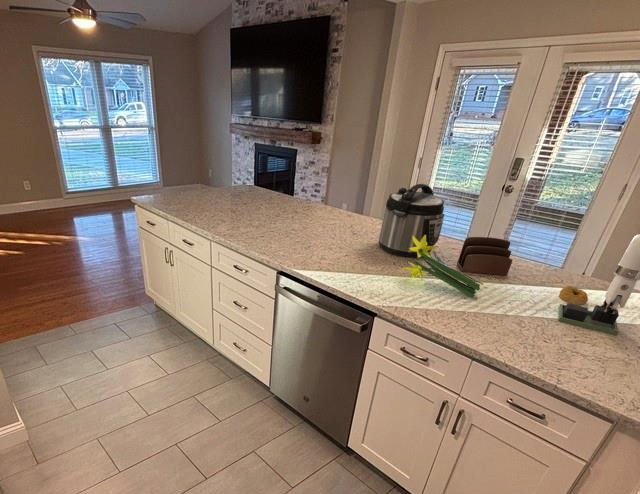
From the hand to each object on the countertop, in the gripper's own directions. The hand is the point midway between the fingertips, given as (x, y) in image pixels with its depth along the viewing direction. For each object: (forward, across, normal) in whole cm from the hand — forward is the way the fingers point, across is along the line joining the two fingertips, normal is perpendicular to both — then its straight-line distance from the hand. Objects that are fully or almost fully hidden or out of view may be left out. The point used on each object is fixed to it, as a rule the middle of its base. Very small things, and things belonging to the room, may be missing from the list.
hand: (602, 318), depth 149 cm
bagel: (+3, +19, +8) cm, 21 cm away
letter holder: (+3, +32, +44) cm, 55 cm away
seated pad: (+2, 0, +8) cm, 9 cm away
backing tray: (+3, 0, +4) cm, 5 cm away
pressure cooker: (+3, +37, +81) cm, 89 cm away
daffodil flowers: (+3, +1, +57) cm, 57 cm away
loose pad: (0, 0, 0) cm, 0 cm away
